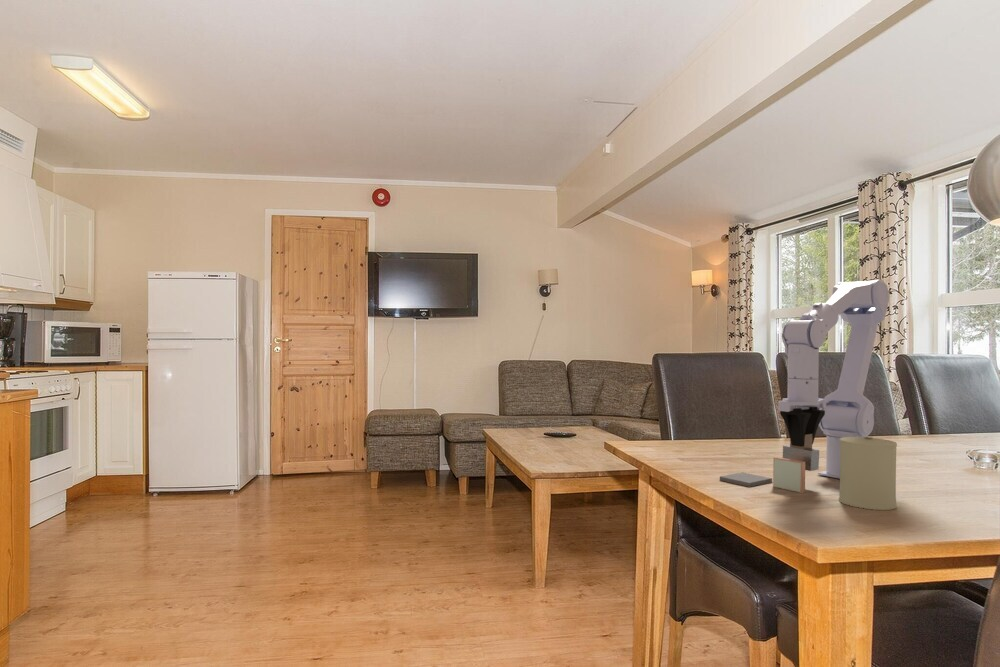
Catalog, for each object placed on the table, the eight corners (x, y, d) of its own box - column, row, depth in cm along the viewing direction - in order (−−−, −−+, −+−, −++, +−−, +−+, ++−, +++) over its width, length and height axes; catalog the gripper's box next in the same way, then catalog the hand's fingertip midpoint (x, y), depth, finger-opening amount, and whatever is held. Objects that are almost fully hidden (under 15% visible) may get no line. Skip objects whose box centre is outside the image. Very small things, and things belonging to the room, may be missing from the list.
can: (895, 501, 117) (896, 437, 117) (897, 513, 109) (898, 444, 109) (839, 494, 122) (840, 432, 122) (837, 505, 114) (838, 439, 114)
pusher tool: (790, 463, 132) (791, 430, 132) (818, 469, 127) (820, 435, 127) (782, 464, 130) (783, 431, 130) (810, 471, 125) (812, 436, 125)
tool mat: (742, 475, 138) (742, 472, 138) (772, 482, 132) (772, 478, 132) (719, 480, 133) (719, 476, 133) (749, 486, 127) (749, 483, 127)
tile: (776, 486, 128) (776, 456, 129) (805, 492, 124) (805, 461, 124) (772, 487, 128) (773, 457, 128) (801, 493, 123) (801, 462, 123)
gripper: (803, 376, 136) (802, 439, 136) (764, 378, 128) (763, 445, 128) (836, 378, 130) (835, 444, 130) (797, 380, 122) (797, 450, 122)
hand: (802, 445), depth 128 cm, fingers closed on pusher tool, 3 cm apart
